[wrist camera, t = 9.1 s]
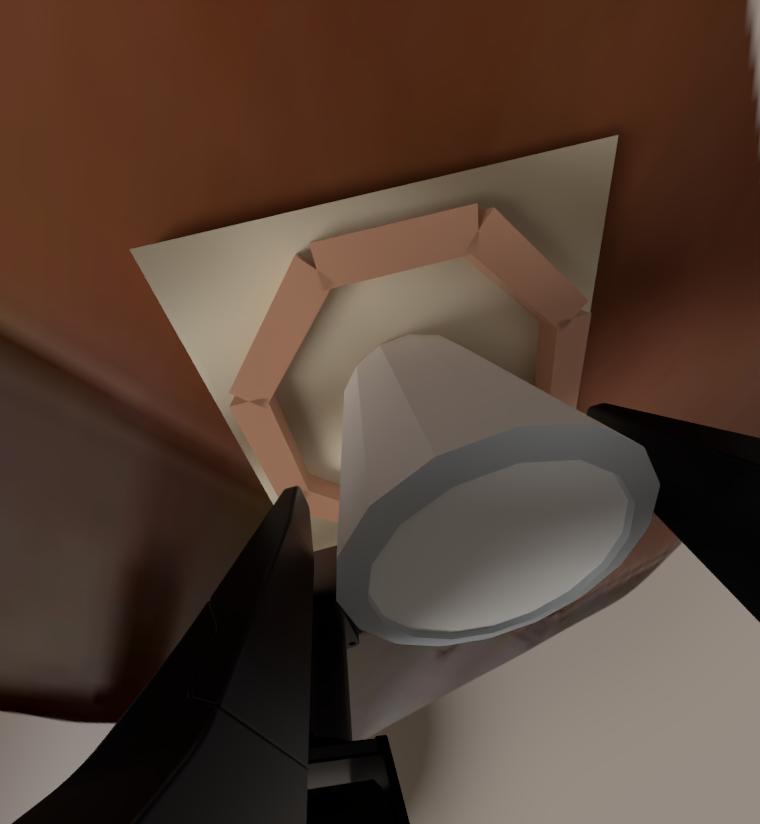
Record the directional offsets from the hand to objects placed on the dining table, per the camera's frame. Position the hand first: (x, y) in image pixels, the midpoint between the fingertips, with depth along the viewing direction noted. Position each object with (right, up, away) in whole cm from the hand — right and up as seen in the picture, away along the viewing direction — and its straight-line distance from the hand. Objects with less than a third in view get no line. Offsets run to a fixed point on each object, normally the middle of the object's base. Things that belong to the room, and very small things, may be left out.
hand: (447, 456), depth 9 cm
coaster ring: (-1, +2, +3) cm, 3 cm away
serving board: (-1, +2, +4) cm, 5 cm away
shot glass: (-1, +2, +3) cm, 4 cm away
